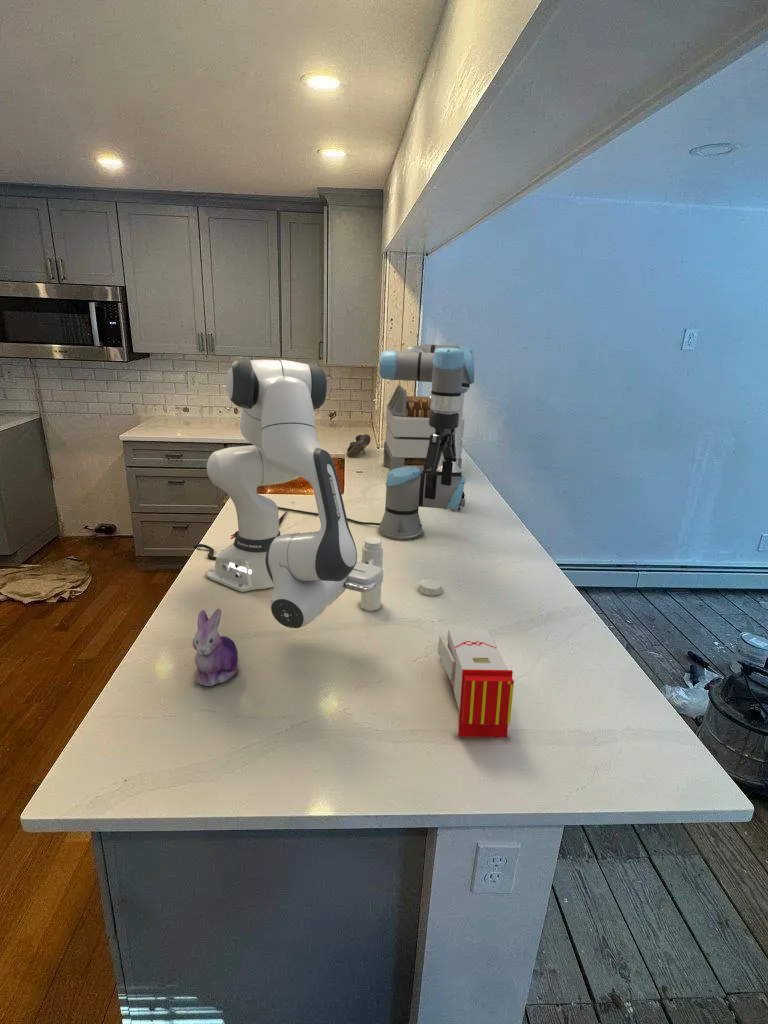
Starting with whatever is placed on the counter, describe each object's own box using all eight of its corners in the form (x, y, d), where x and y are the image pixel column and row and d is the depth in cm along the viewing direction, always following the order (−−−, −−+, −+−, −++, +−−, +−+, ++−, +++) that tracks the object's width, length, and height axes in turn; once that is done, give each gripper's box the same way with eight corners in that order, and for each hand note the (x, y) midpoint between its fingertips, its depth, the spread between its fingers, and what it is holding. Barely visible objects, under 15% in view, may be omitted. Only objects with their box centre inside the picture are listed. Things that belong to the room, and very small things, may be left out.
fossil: (346, 440, 316) (367, 425, 311) (357, 453, 319) (378, 438, 314) (340, 453, 296) (362, 438, 291) (351, 468, 299) (374, 452, 294)
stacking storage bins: (382, 463, 289) (386, 382, 275) (445, 464, 293) (451, 384, 279) (390, 482, 257) (394, 392, 243) (460, 483, 261) (468, 394, 247)
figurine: (199, 693, 114) (193, 629, 109) (190, 666, 122) (184, 604, 117) (245, 682, 118) (242, 619, 113) (233, 656, 127) (230, 596, 122)
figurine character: (465, 515, 224) (460, 499, 237) (467, 498, 221) (462, 483, 234) (448, 515, 224) (444, 499, 237) (450, 498, 220) (445, 482, 234)
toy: (488, 613, 130) (523, 677, 101) (484, 667, 133) (517, 744, 104) (435, 612, 130) (455, 676, 101) (432, 666, 133) (451, 743, 103)
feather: (294, 505, 227) (296, 501, 226) (277, 528, 200) (280, 524, 199) (290, 503, 226) (292, 499, 226) (273, 526, 200) (276, 521, 199)
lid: (434, 584, 164) (434, 577, 164) (445, 593, 159) (445, 586, 158) (416, 588, 162) (416, 581, 161) (426, 597, 157) (427, 590, 156)
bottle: (369, 612, 148) (371, 546, 141) (356, 604, 151) (358, 539, 145) (384, 606, 151) (387, 541, 144) (371, 598, 155) (374, 534, 148)
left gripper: (369, 578, 118) (394, 554, 130) (284, 559, 125) (315, 537, 137) (368, 605, 120) (393, 579, 132) (285, 584, 127) (315, 561, 139)
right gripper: (445, 403, 156) (439, 477, 163) (413, 417, 134) (408, 502, 141) (471, 406, 153) (464, 481, 160) (443, 420, 131) (436, 507, 138)
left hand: (353, 557), depth 134 cm, fingers open, 8 cm apart
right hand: (438, 491), depth 151 cm, fingers open, 13 cm apart
